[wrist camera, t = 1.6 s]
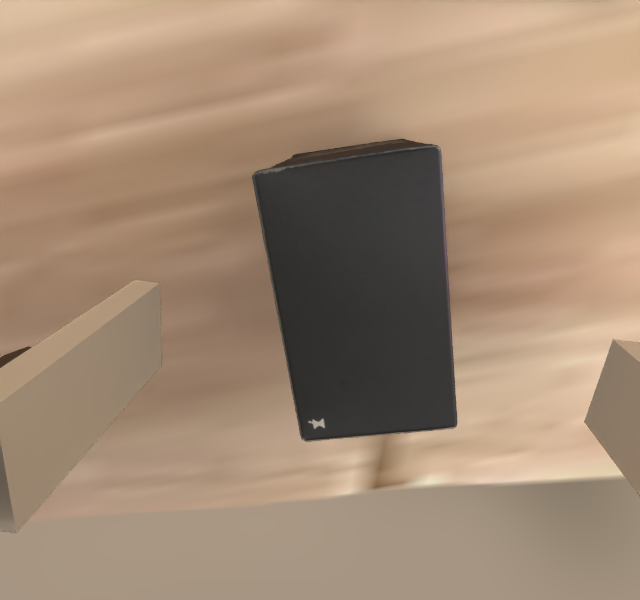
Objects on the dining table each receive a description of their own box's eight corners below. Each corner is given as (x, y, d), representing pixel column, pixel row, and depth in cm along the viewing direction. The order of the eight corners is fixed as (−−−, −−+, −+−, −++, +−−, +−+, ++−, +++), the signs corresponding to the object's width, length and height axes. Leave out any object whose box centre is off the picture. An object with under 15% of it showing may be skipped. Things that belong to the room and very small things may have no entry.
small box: (428, 325, 27) (466, 437, 18) (317, 336, 28) (295, 449, 18) (413, 134, 24) (451, 141, 14) (287, 153, 25) (240, 172, 15)
